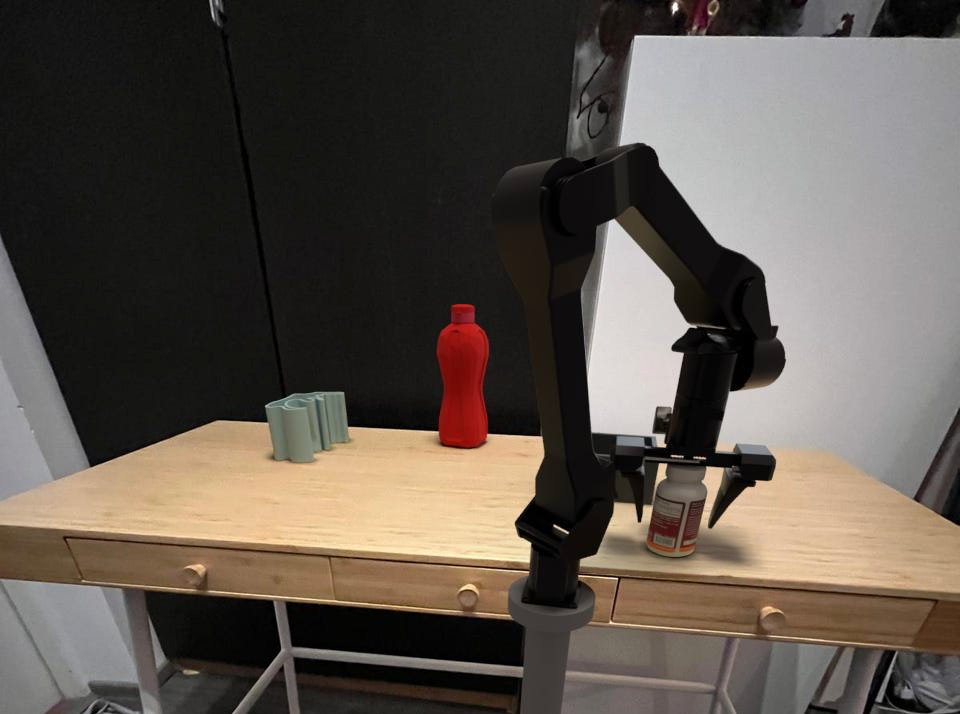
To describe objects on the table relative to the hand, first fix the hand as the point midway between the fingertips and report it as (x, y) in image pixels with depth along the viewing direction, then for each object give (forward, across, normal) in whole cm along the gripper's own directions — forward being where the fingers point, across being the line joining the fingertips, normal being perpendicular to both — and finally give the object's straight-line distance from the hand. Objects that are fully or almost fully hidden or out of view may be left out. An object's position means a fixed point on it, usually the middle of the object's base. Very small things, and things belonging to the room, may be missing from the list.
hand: (674, 524), depth 73 cm
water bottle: (+4, +39, -46) cm, 60 cm away
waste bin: (+3, +9, -24) cm, 26 cm away
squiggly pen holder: (+4, +67, -32) cm, 74 cm away
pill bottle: (+4, 0, 0) cm, 4 cm away
